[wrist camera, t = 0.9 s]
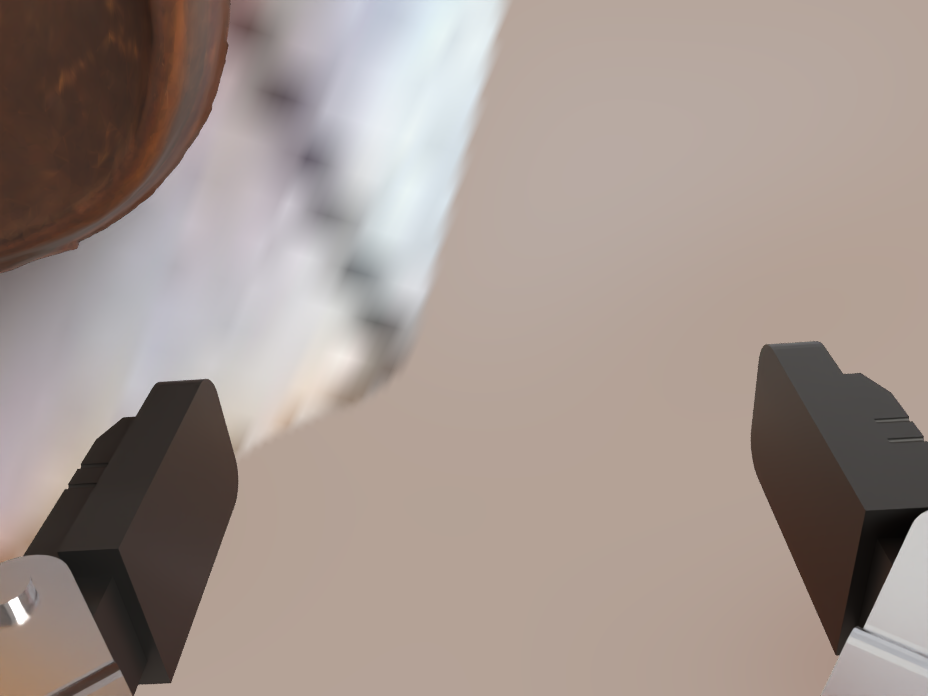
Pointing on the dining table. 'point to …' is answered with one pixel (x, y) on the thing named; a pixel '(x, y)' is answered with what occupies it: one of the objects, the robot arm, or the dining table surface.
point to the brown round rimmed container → (97, 111)
